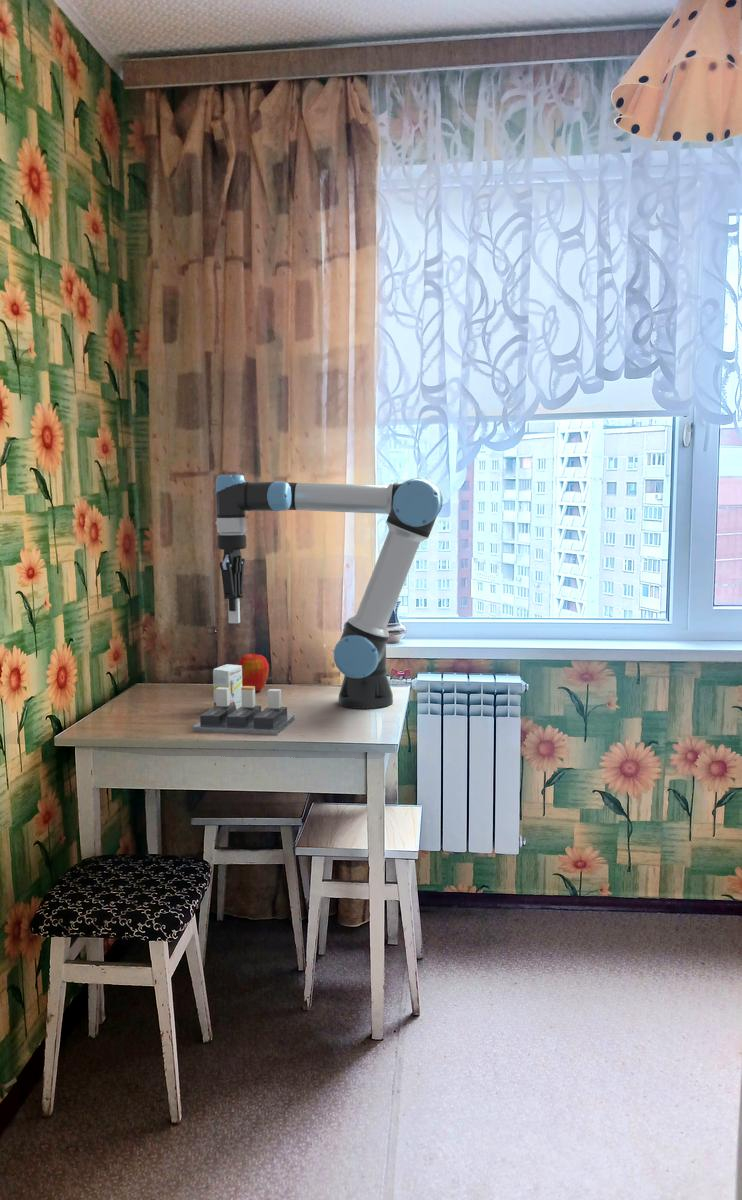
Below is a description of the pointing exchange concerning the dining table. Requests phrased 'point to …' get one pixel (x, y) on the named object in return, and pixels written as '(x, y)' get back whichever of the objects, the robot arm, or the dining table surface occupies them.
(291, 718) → the panel
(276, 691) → the handle
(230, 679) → the ink box
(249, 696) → the handle mid
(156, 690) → the dining table surface
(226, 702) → the handle
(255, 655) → the apple
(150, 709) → the dining table surface
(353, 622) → the robot arm
